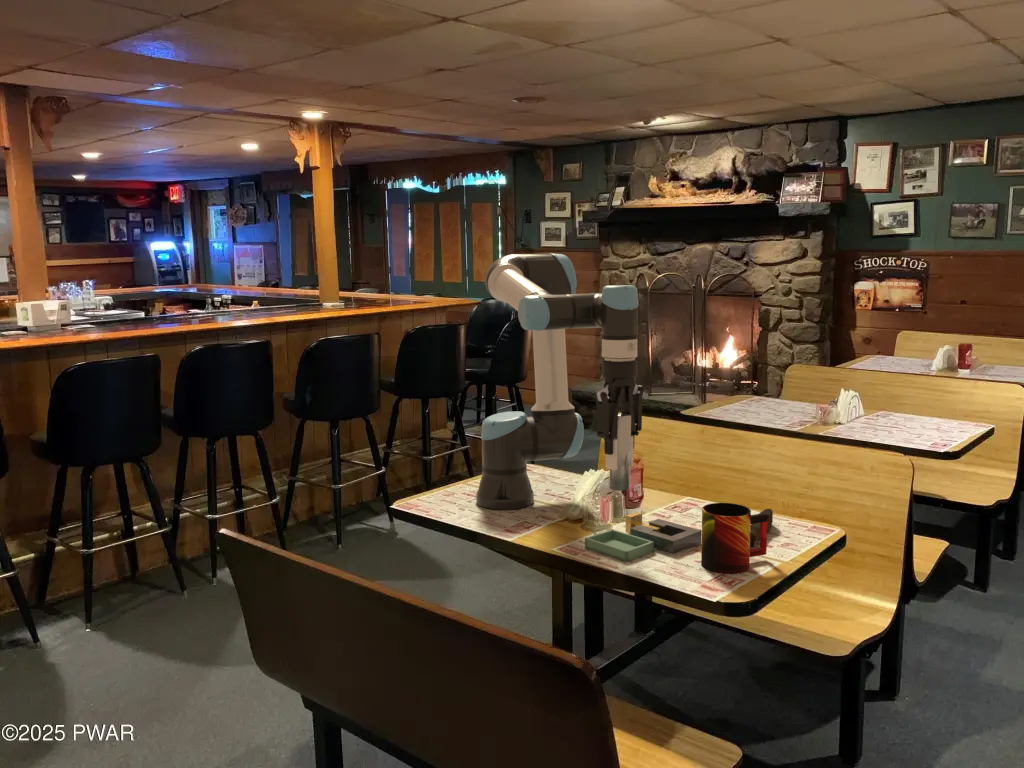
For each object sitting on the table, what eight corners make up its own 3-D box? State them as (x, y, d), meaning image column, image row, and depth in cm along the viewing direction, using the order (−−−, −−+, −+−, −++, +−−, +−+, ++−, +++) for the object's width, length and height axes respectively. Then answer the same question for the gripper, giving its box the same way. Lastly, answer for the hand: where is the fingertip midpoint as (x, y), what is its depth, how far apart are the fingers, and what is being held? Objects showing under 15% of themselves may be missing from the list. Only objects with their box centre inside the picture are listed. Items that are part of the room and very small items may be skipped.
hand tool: (754, 550, 181) (755, 530, 180) (736, 547, 183) (737, 527, 183) (782, 527, 196) (783, 508, 196) (765, 524, 199) (766, 506, 198)
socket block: (630, 541, 188) (630, 528, 187) (658, 531, 194) (658, 518, 194) (673, 554, 179) (673, 541, 178) (701, 543, 185) (701, 530, 185)
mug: (767, 559, 175) (768, 504, 173) (735, 578, 165) (736, 519, 163) (725, 549, 182) (726, 495, 180) (692, 566, 172) (693, 510, 170)
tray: (584, 547, 184) (584, 538, 184) (612, 538, 190) (612, 529, 189) (626, 561, 175) (626, 551, 175) (653, 551, 181) (654, 541, 180)
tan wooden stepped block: (625, 532, 193) (625, 515, 192) (636, 528, 195) (637, 511, 195) (651, 540, 187) (651, 522, 186) (662, 536, 190) (662, 519, 189)
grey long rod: (605, 487, 180) (606, 414, 178) (618, 483, 183) (619, 412, 181) (620, 491, 177) (622, 417, 174) (634, 487, 180) (635, 414, 177)
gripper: (604, 364, 168) (605, 477, 171) (660, 356, 179) (659, 462, 182) (578, 361, 173) (578, 470, 177) (633, 354, 185) (632, 457, 188)
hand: (619, 466), depth 179 cm, fingers closed on grey long rod, 4 cm apart
